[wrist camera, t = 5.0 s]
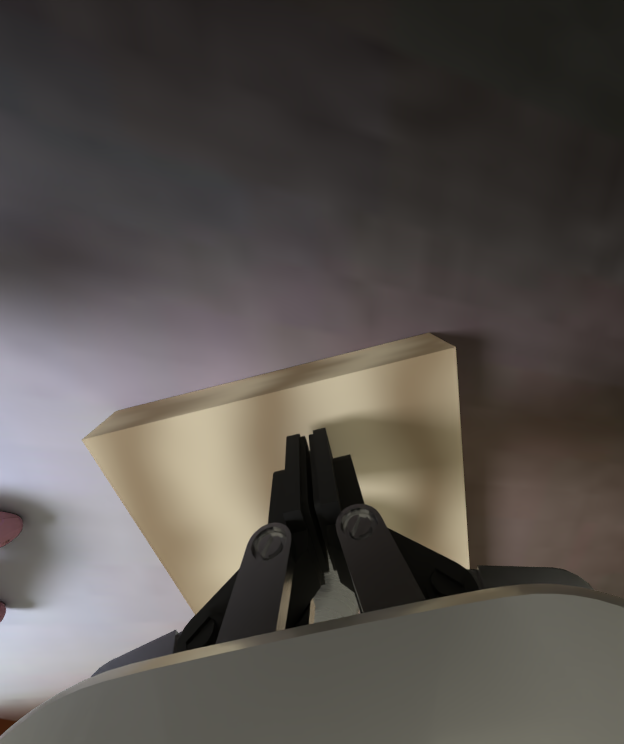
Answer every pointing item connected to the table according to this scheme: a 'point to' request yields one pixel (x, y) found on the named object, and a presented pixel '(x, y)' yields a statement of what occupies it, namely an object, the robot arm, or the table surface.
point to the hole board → (268, 448)
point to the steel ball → (334, 598)
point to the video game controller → (8, 538)
